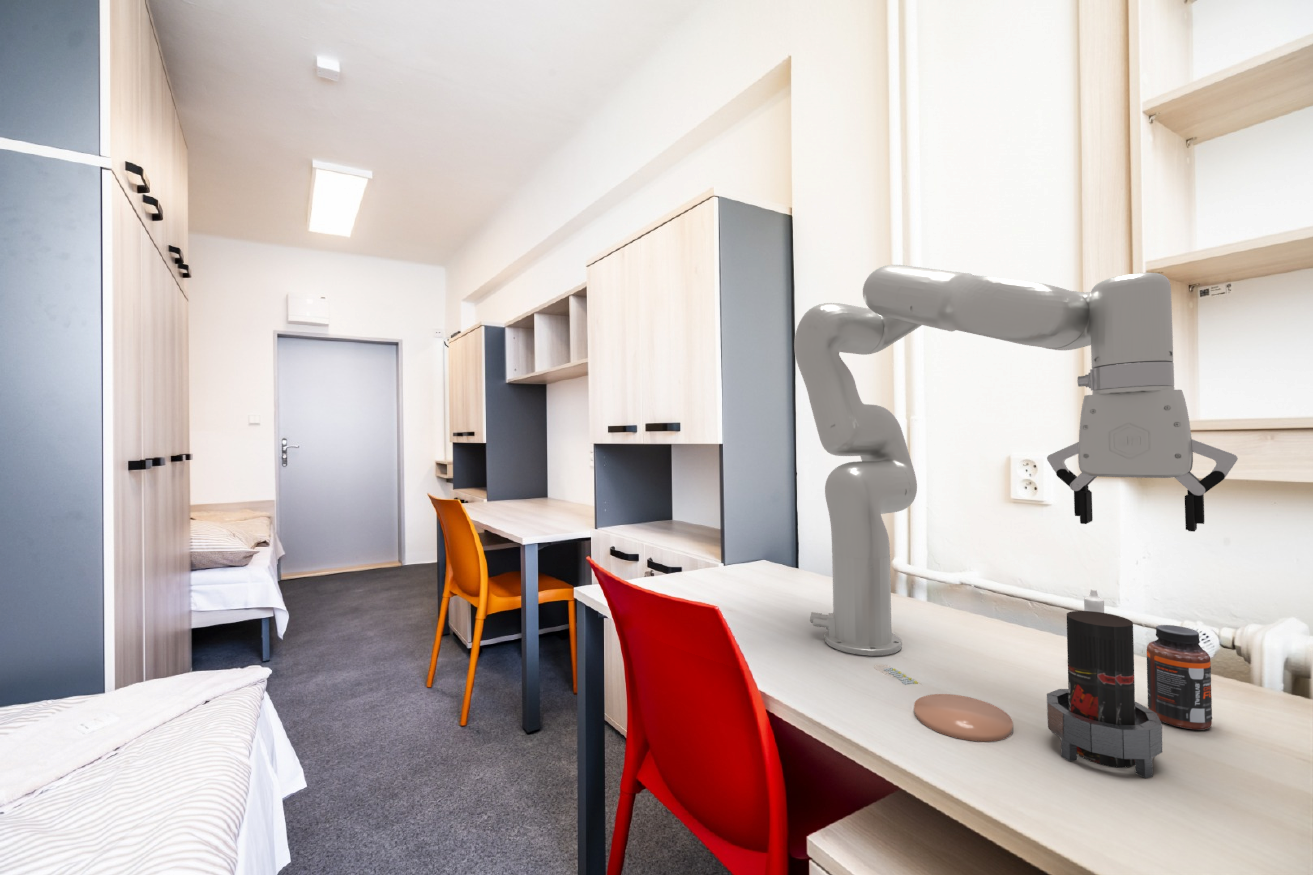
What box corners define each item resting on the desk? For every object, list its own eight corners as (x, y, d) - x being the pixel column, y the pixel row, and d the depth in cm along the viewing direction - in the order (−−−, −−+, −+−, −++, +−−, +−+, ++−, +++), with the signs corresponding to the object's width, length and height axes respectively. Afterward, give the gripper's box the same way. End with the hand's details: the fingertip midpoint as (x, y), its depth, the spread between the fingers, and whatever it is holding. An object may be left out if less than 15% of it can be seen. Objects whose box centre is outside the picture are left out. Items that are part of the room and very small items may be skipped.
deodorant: (1149, 769, 61) (1145, 627, 62) (1085, 764, 63) (1082, 625, 63) (1116, 741, 67) (1113, 611, 67) (1059, 737, 68) (1056, 609, 69)
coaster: (907, 726, 71) (907, 720, 72) (920, 693, 81) (920, 687, 81) (1012, 750, 66) (1012, 743, 66) (1013, 711, 75) (1013, 705, 75)
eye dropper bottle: (1089, 660, 92) (1088, 584, 92) (1125, 674, 86) (1123, 593, 86) (1067, 663, 91) (1065, 586, 91) (1101, 677, 85) (1099, 595, 85)
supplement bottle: (1219, 737, 68) (1216, 640, 68) (1152, 724, 71) (1150, 632, 71) (1205, 716, 73) (1202, 626, 73) (1144, 705, 76) (1141, 619, 76)
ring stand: (1050, 761, 63) (1049, 715, 63) (1046, 723, 72) (1045, 682, 72) (1170, 788, 58) (1169, 738, 58) (1151, 744, 67) (1150, 700, 67)
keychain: (932, 688, 82) (914, 691, 81) (933, 692, 82) (914, 695, 81) (886, 661, 92) (869, 663, 91) (886, 665, 92) (869, 667, 91)
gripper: (1037, 386, 73) (1041, 523, 72) (1232, 371, 60) (1238, 537, 60) (1053, 389, 78) (1057, 517, 77) (1236, 376, 65) (1241, 529, 65)
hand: (1136, 526), depth 69 cm, fingers open, 9 cm apart
